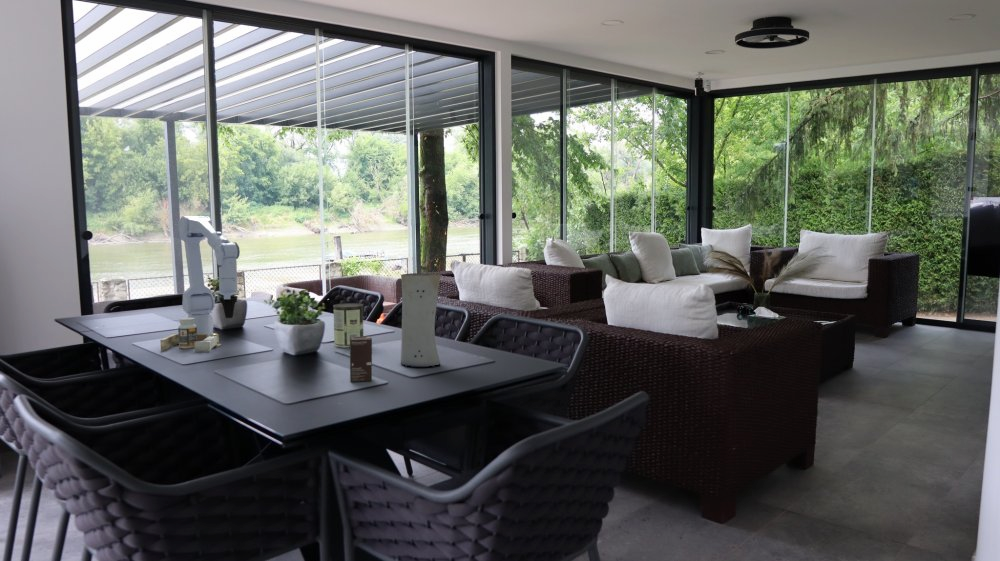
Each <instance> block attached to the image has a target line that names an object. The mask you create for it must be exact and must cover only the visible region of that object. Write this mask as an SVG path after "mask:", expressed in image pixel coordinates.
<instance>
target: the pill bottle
mask: <svg viewBox="0 0 1000 561" xmlns="http://www.w3.org/2000/svg"><path fill="white" fill-rule="evenodd" d="M194 322H195V318H188V317H180V318H179V324H180V325H178V328H177V329H178V331H177V332H178V333H177V334H179V345H178V347H179V348H180V349H182V350H183V349H195V342H196V341H197V326H196V325H195V324H194Z"/></svg>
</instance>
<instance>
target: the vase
mask: <svg viewBox="0 0 1000 561" xmlns="http://www.w3.org/2000/svg"><path fill="white" fill-rule="evenodd" d="M441 276H442V275H441V273H429V272H428V273H422V272H421V273H419V272H418V273H413V272H412V273H411V272H410V273H404V274H403V273H402V274H401V275H400V279H401V291H402V297H401V298H402V301H401V304H402V305H401V306H402V308H401V309H402V310H401V346H400V347H401V352H400V364H401V365H402V366H404V365H405V366H404V367H406V366H411V368H428V367H429V366H432V367H436V366H435V365H439V364H440V365H441V362H440V361H441V360H440V358H439V354H438V348H437V344H436V334H435V332H436V331H435V324H436V323H435V322H436V313H437V304H438V294H439V286H440V280H441ZM429 368H430V367H429Z"/></svg>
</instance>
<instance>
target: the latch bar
mask: <svg viewBox="0 0 1000 561" xmlns="http://www.w3.org/2000/svg"><path fill="white" fill-rule="evenodd" d="M203 341H211V349H213V348H214V347H217V346H216V345H217V344H220V343H219V342H220V341H219V334H218V333H216V334H210V335H209V337H207V338H206V339H204V340H203Z"/></svg>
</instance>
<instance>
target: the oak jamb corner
mask: <svg viewBox="0 0 1000 561" xmlns="http://www.w3.org/2000/svg"><path fill="white" fill-rule="evenodd" d="M207 337H208V334H197V341H203V340H204V339H206V338H207ZM176 344H179V333H173V334H170V335H168V336H166V337H164V338H162V339H160V351H167V350H168V349H170V348H172V347H175V346H176Z"/></svg>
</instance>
